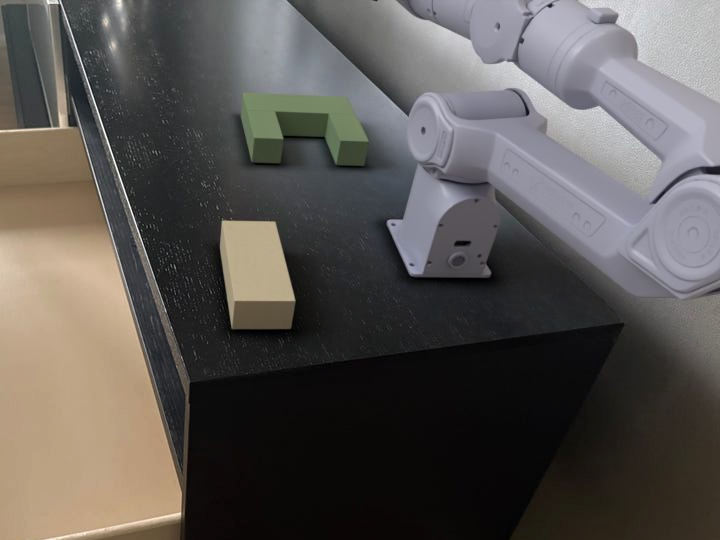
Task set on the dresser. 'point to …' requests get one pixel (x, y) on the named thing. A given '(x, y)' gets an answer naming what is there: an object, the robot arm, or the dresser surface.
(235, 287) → the cream block
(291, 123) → the green u-shaped block
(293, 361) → the dresser surface
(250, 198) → the dresser surface
